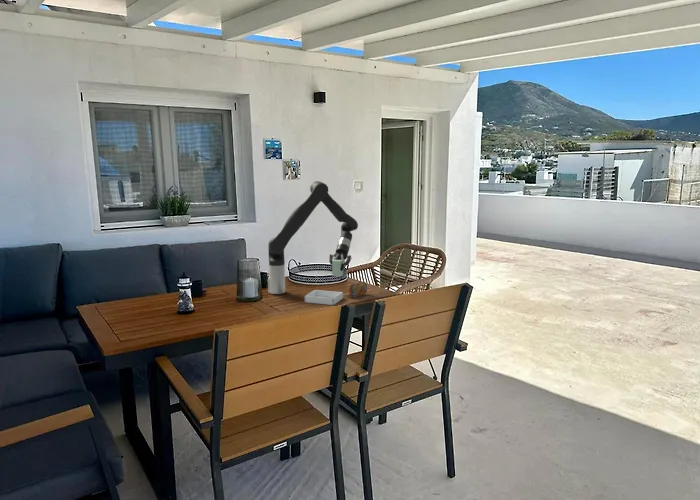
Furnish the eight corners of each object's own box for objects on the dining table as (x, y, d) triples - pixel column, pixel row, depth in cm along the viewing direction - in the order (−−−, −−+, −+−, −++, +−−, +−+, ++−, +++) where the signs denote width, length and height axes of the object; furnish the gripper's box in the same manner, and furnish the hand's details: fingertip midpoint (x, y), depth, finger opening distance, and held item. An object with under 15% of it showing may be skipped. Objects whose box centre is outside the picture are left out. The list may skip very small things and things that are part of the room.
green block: (332, 275, 284) (332, 260, 283) (335, 274, 289) (335, 259, 287) (340, 276, 282) (340, 261, 281) (343, 274, 287) (343, 259, 286)
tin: (352, 299, 275) (352, 285, 274) (348, 298, 277) (348, 284, 276) (367, 294, 287) (367, 280, 286) (363, 293, 289) (363, 280, 288)
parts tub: (304, 303, 268) (304, 296, 267) (315, 296, 282) (315, 289, 281) (333, 305, 262) (333, 298, 262) (342, 299, 276) (342, 292, 276)
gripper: (330, 242, 292) (323, 265, 283) (353, 243, 287) (346, 267, 278) (334, 250, 298) (327, 272, 288) (356, 251, 293) (349, 274, 284)
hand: (336, 269), depth 283 cm, fingers closed on green block, 5 cm apart
